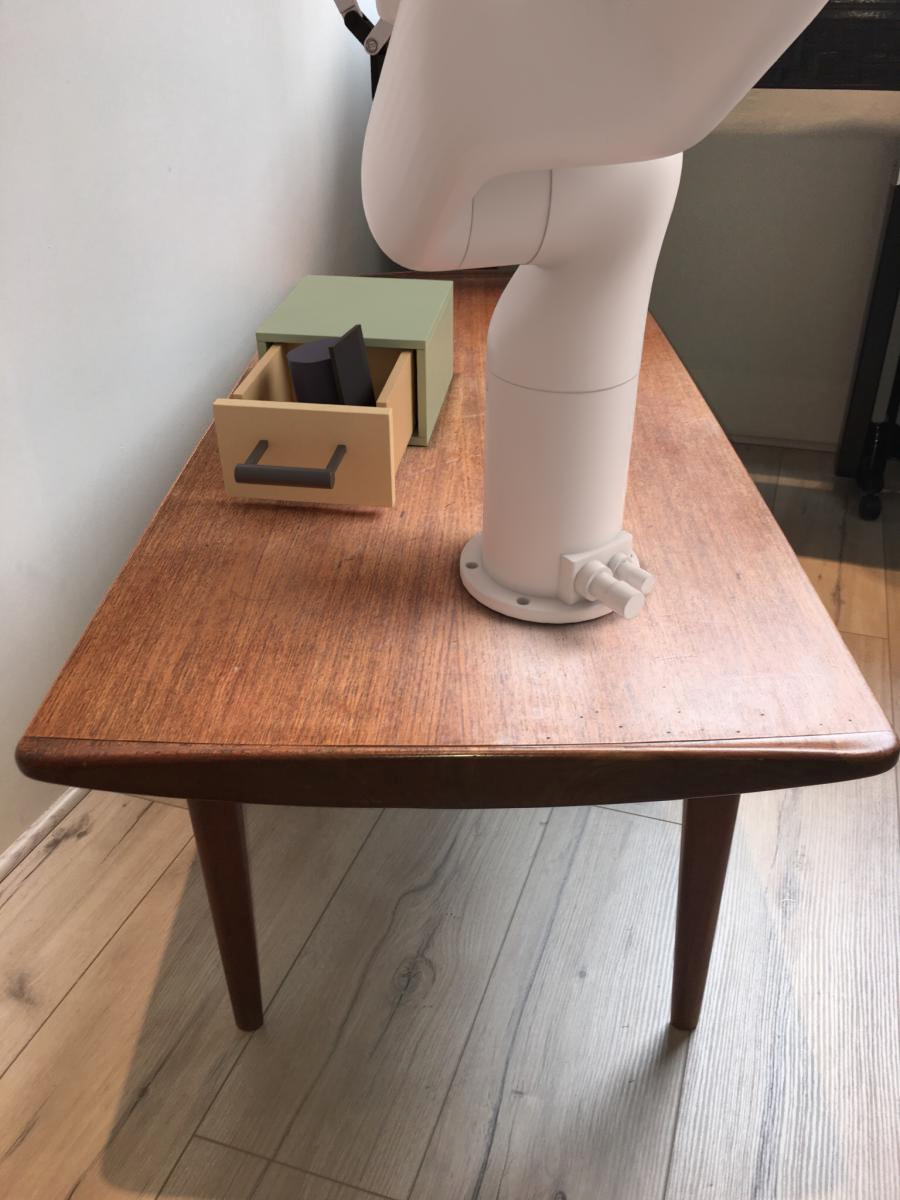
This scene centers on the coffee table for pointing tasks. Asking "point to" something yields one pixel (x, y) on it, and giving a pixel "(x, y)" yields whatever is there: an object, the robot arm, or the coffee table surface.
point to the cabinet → (376, 327)
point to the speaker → (333, 371)
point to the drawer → (317, 434)
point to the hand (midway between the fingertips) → (451, 115)
